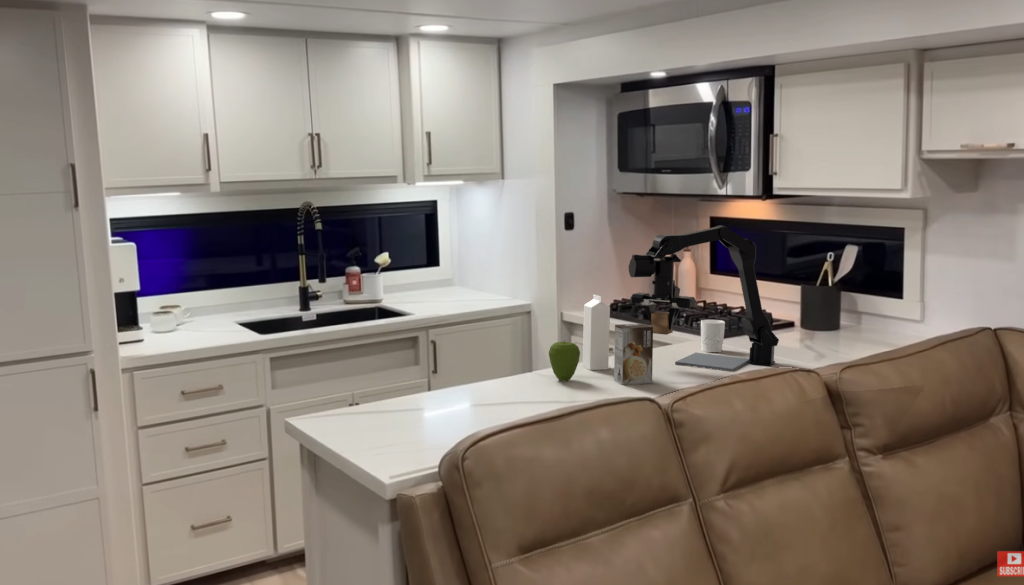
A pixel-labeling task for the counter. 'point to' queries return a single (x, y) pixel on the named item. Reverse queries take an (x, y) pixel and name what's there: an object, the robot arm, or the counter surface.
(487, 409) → the counter surface
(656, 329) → the walnut block
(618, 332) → the printed cardboard box
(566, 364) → the apple
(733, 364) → the slate mat
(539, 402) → the counter surface
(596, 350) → the milk
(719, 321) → the white cup
